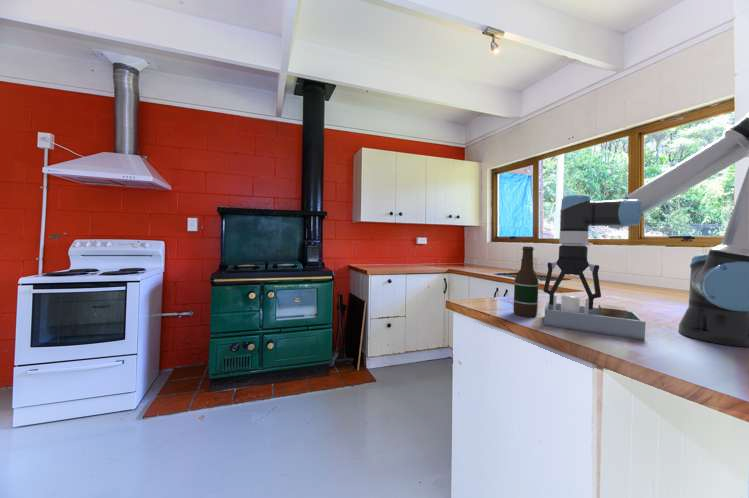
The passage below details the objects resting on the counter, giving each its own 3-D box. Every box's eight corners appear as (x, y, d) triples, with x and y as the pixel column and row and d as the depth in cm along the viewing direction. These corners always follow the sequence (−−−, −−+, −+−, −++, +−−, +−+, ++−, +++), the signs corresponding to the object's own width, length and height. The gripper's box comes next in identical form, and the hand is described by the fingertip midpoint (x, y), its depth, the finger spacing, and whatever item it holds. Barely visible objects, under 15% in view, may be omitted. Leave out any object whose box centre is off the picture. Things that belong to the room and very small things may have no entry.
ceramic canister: (578, 321, 97) (579, 296, 97) (579, 324, 93) (580, 298, 92) (560, 318, 99) (561, 294, 99) (560, 322, 95) (561, 296, 95)
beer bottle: (540, 318, 102) (544, 247, 101) (516, 316, 104) (519, 246, 103) (533, 312, 110) (536, 246, 109) (510, 311, 112) (513, 246, 111)
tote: (633, 327, 93) (634, 311, 93) (644, 340, 82) (645, 321, 81) (545, 316, 105) (546, 301, 105) (544, 325, 94) (544, 309, 94)
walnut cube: (622, 326, 92) (623, 306, 91) (626, 331, 87) (627, 310, 86) (597, 323, 95) (598, 304, 94) (600, 327, 90) (601, 307, 89)
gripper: (612, 246, 93) (608, 319, 94) (536, 244, 104) (533, 310, 105) (616, 246, 87) (612, 325, 88) (535, 244, 97) (532, 314, 98)
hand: (569, 317), depth 96 cm, fingers open, 8 cm apart
